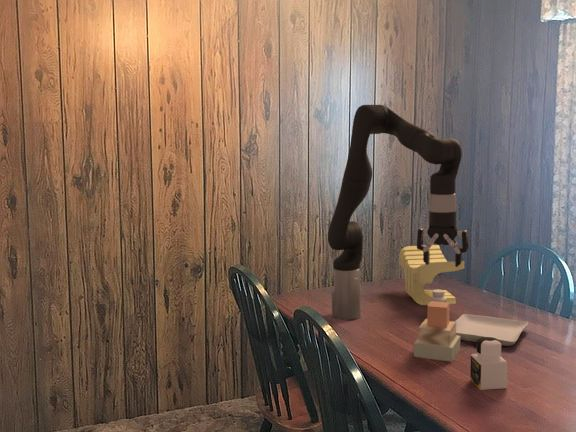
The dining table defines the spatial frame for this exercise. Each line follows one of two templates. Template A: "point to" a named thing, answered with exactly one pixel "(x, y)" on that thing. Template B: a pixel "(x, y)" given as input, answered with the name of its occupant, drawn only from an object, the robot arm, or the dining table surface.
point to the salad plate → (489, 328)
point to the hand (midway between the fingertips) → (442, 265)
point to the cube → (438, 314)
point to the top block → (437, 334)
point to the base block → (437, 350)
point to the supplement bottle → (438, 296)
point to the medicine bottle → (488, 365)
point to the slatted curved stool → (424, 272)
